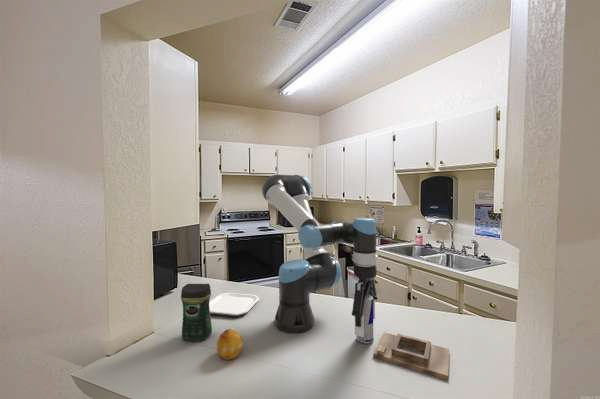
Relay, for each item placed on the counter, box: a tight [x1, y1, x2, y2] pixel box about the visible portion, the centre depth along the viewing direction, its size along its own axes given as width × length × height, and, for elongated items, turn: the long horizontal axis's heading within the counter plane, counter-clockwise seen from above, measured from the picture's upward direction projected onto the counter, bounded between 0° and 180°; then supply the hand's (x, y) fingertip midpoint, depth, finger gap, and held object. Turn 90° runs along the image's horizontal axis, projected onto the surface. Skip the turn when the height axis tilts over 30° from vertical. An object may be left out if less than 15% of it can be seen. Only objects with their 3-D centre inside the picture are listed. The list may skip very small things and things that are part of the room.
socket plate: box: [372, 331, 450, 381], centre depth 82 cm, size 20×14×3 cm
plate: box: [209, 292, 260, 317], centre depth 118 cm, size 21×21×2 cm
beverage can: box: [355, 295, 374, 344], centre depth 90 cm, size 6×6×15 cm
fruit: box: [216, 328, 244, 360], centre depth 83 cm, size 8×8×8 cm
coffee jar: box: [180, 283, 213, 342], centre depth 93 cm, size 10×8×19 cm
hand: (365, 326), depth 90 cm, fingers open, 13 cm apart
